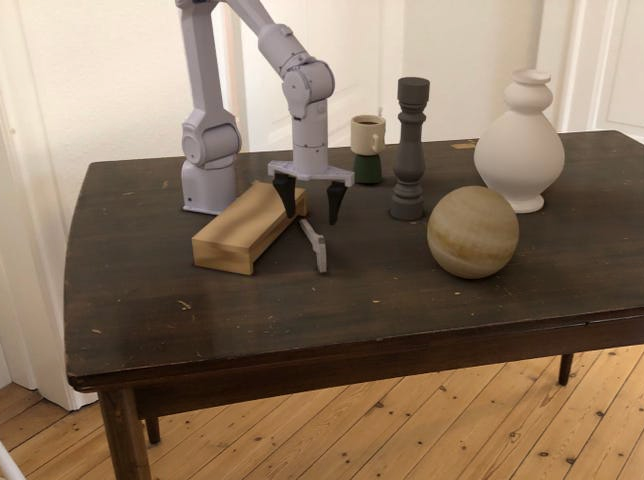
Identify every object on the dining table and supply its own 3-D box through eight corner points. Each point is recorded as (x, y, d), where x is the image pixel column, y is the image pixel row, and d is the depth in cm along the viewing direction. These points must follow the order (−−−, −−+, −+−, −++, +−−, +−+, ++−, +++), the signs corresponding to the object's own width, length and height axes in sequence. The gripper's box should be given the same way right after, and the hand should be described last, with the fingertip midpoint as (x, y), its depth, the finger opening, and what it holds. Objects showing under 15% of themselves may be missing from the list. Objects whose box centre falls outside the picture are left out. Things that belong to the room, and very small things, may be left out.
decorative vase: (458, 207, 148) (470, 78, 133) (484, 178, 161) (498, 57, 147) (545, 225, 143) (568, 93, 128) (564, 193, 156) (587, 70, 142)
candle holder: (389, 206, 147) (395, 76, 132) (420, 207, 147) (429, 76, 133) (391, 220, 142) (397, 85, 127) (424, 220, 142) (433, 86, 128)
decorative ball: (415, 255, 130) (420, 173, 121) (495, 250, 133) (506, 170, 124) (437, 298, 118) (444, 211, 109) (525, 292, 121) (539, 206, 113)
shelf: (194, 265, 123) (191, 238, 120) (258, 206, 144) (256, 181, 141) (250, 275, 121) (248, 247, 119) (306, 213, 142) (306, 189, 139)
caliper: (326, 274, 123) (326, 240, 119) (320, 275, 123) (319, 241, 119) (305, 223, 139) (304, 191, 135) (299, 223, 139) (298, 192, 135)
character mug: (392, 188, 154) (395, 126, 147) (360, 192, 152) (361, 129, 144) (372, 170, 162) (374, 110, 155) (342, 174, 160) (342, 113, 152)
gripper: (258, 143, 118) (263, 222, 126) (345, 155, 115) (344, 235, 123) (275, 130, 124) (279, 206, 131) (358, 141, 121) (357, 218, 129)
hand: (312, 219), depth 128 cm, fingers open, 7 cm apart
